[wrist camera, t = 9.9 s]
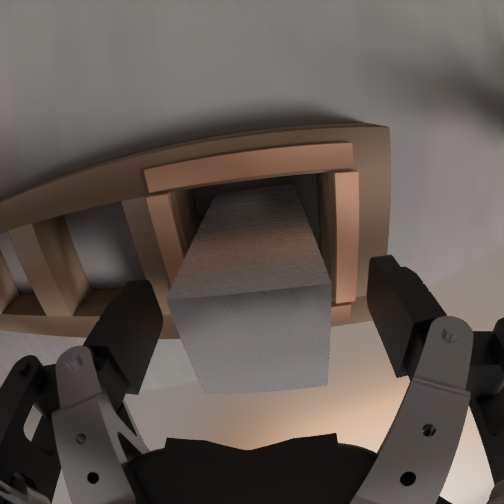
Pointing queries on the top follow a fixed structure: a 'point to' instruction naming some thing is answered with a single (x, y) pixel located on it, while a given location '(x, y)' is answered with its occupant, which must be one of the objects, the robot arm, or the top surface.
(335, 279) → the brown wooden slotted frame
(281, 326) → the metal peg
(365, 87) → the top surface
